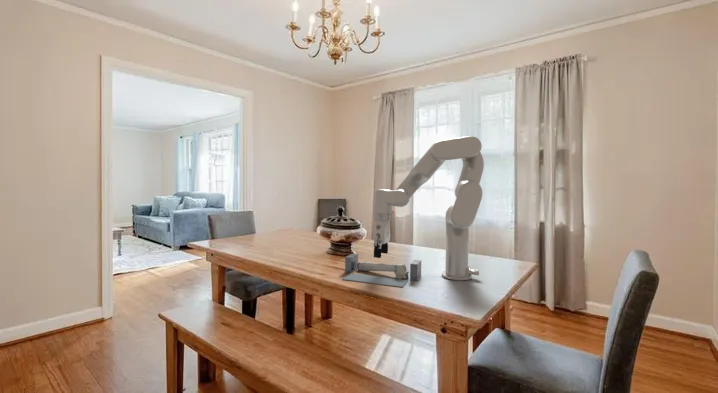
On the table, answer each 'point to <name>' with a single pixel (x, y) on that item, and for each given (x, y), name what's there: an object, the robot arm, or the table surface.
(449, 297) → the table surface
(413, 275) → the steel holder
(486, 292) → the table surface
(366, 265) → the mallet
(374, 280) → the rubber mat
